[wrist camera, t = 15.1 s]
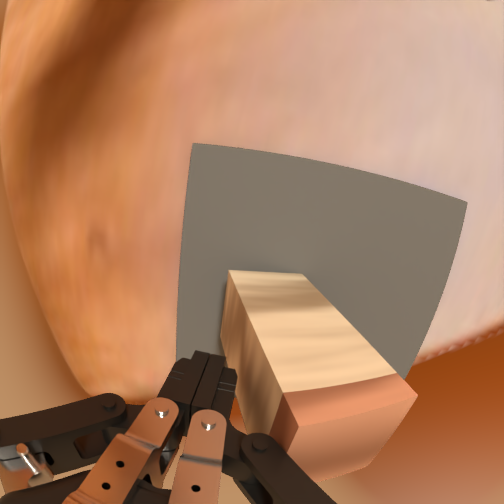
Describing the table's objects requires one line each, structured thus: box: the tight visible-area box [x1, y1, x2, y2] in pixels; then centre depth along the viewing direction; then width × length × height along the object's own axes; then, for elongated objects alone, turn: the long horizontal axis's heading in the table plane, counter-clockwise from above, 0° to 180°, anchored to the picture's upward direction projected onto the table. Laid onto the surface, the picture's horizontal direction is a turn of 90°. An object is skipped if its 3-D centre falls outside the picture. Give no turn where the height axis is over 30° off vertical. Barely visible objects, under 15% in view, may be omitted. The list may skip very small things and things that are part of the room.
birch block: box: [220, 270, 418, 483], centre depth 14 cm, size 5×5×12 cm
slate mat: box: [176, 143, 468, 398], centre depth 20 cm, size 20×20×1 cm
